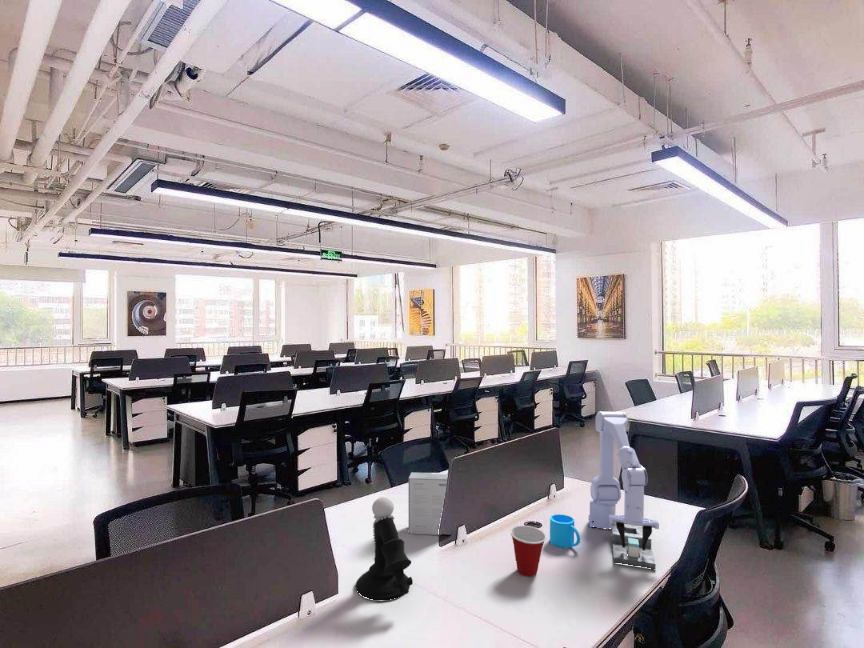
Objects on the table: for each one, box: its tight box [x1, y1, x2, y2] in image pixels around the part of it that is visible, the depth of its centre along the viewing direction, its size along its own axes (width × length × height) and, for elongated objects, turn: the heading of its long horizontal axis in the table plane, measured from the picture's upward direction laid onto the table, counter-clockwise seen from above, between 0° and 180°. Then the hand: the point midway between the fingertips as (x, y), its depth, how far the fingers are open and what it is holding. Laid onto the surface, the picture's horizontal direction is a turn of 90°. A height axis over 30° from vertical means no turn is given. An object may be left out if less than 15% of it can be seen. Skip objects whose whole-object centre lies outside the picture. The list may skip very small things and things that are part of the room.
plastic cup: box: [510, 525, 547, 577], centre depth 150 cm, size 11×11×12 cm
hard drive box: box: [408, 471, 448, 536], centre depth 178 cm, size 16×8×20 cm, turn 84°
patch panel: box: [610, 523, 657, 570], centre depth 164 cm, size 12×22×4 cm, turn 162°
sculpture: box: [355, 497, 413, 601], centre depth 137 cm, size 15×24×25 cm, turn 27°
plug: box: [628, 538, 639, 558], centre depth 158 cm, size 3×4×6 cm
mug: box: [549, 513, 581, 548], centre depth 169 cm, size 12×8×8 cm
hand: (633, 547), depth 158 cm, fingers open, 5 cm apart
